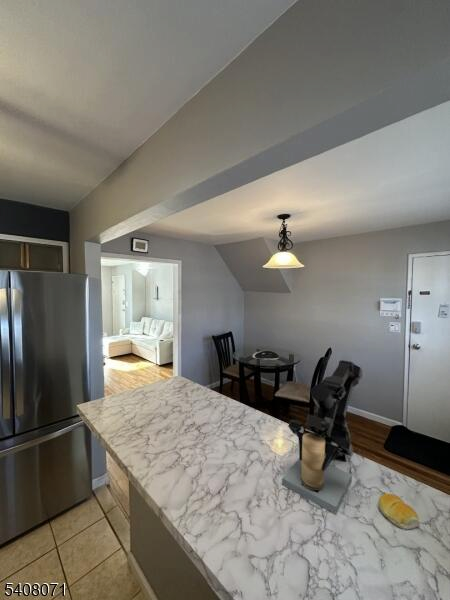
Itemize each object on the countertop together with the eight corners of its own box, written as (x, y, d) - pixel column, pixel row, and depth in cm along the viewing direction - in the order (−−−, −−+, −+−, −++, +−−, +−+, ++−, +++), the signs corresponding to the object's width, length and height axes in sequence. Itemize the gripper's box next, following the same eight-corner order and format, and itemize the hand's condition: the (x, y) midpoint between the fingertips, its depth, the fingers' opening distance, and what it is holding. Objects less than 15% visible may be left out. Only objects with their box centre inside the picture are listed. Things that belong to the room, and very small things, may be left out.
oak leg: (322, 482, 77) (324, 435, 77) (324, 498, 71) (326, 447, 70) (301, 476, 79) (302, 431, 79) (300, 492, 73) (302, 443, 72)
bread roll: (393, 499, 73) (394, 486, 73) (424, 527, 64) (425, 512, 64) (370, 504, 71) (370, 490, 71) (398, 533, 62) (399, 517, 62)
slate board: (303, 458, 90) (303, 453, 90) (351, 480, 79) (351, 474, 79) (281, 484, 77) (282, 478, 77) (335, 514, 67) (336, 507, 67)
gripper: (291, 395, 84) (274, 442, 76) (351, 413, 72) (339, 471, 63) (300, 410, 90) (285, 455, 82) (357, 429, 78) (346, 484, 70)
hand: (311, 465), depth 74 cm, fingers closed on oak leg, 6 cm apart
